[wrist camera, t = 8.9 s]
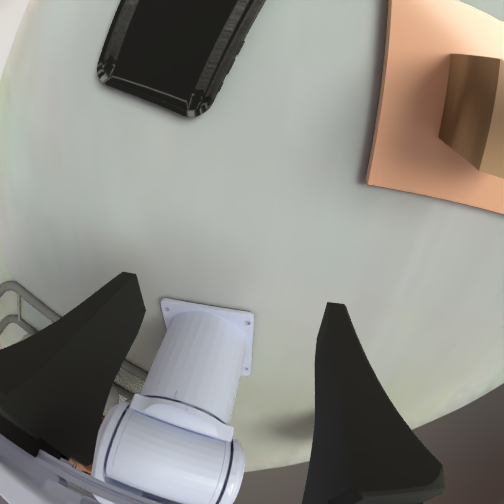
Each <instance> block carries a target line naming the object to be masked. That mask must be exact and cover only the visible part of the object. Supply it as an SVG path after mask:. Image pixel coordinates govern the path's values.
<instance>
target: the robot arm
mask: <svg viewBox="0 0 504 504" xmlns="http://www.w3.org/2000/svg"><path fill="white" fill-rule="evenodd" d="M160 304H161V308H162V313H163V317H164V321H165V325H166V329H167V332H166V334H165V337H164V339H163V341H162V343H161V346H160V348H159V350H158V352H157V355H156V357H155V359H154V362H153V364H152V366H151V368H150V371H149V373H148V375H147V378H146V380H145V382H144V385H143V387H142V390H141V392H140V394H134V397H133V399H132V401H131V404H130V403H128V402H126V401H122V402H120V403H119V404H116V405H114V406H112V407H111V409H110V410H109V411H108V413H107V414H106V416H105V418H104V420H103V422H102V424H101V427H100V423H101V419H102V416H103V412H104V409H105V405H106V402H107V399H108V396H109V393H110V390H111V387H112V384H113V382H114V380H115V378H116V375H117V373H118V371H119V369H120V367H121V365H122V363H123V361H124V359H125V357H126V355H127V353H128V351H129V350H130V348H131V346H132V344H133V342H134V340H135V338H136V336H137V334H138V331H139V329H140V326H141V323H142V320H143V318H144V315H145V312H146V309H145V306H144V302H143V299H142V295H141V291H140V287H139V283H138V280H137V276H136V274H132V273H127V272H122V273H121V274H119V275H118V276H116V277H115V278H114V279H112V280H111V281H110V282H108V283H107V284H106V285H105V286H103V287H102V288H101V289H99V290H98V291H97V292H95V293H94V294H93V295H92V296H90V297H89V298H88V299H86V300H85V301H84V302H82V303H81V304H80V305H78V306H77V307H76V308H74V309H73V310H71V311H70V312H69V313H67V314H66V315H64V316H63V317H62V318H60V319H59V320H57V321H56V322H54V323H53V324H51V325H49V326H48V327H46V328H44V329H43V330H41V331H39V332H37V333H35V334H33V335H32V336H30V337H28V338H26V339H24V340H22V341H20V342H18V343H15V344H13V345H11V346H9V347H6V348H4V349H1V350H0V495H1V496H2V497H3V498H4V499H5V500H6V501H7V502H8V503H9V504H233V502H234V500H235V498H236V496H237V494H238V491H239V489H240V485H241V482H242V478H243V473H244V468H245V452H244V450H243V448H242V446H241V443H240V442H239V441H238V440H236V439H232V437H233V432H234V427H232V426H229V425H230V420H231V416H232V412H233V407H234V403H235V399H236V394H237V390H238V386H239V381H240V377H241V376H249V375H250V373H251V361H252V346H253V330H254V315H253V314H252V313H251V312H246V311H240V310H233V309H227V308H220V307H214V306H208V305H202V304H196V303H190V302H185V301H179V300H174V299H168V298H163V299H162V300H161V302H160ZM247 321H249V322H247ZM99 428H100V429H99ZM61 457H62V458H64V459H66V460H67V461H68V460H69V459H72V460H74V461H76V462H78V463H80V464H82V465H84V466H89V465H91V464H93V465H92V472H91V476H90V475H88V474H86V473H84V472H82V471H80V470H78V469H76V468H74V467H71V466H70V465H68V464H66V463H64V462H62V461H60V458H61ZM66 480H67V481H69V482H71V483H72V484H74V485H76V486H78V487H80V488H82V489H84V490H86V491H88V492H91V493H92V494H93V495H94V496H95V498H96V499H97V500H98V501H95V500H94V499H91V498H89V497H87V496H85V495H83V494H81V493H79V492H77V491H75V490H72V489H70V488H69V487H68V484H67V482H66ZM444 491H445V478H444V471H443V466H442V464H441V463H440V462H439V461H438V460H437V459H436V458H435V457H434V456H433V455H432V454H431V453H430V452H429V450H427V448H426V447H425V446H424V445H423V444H422V442H421V441H420V440H419V439H418V438H417V437H416V435H415V434H414V433H413V432H412V430H411V429H410V428H409V426H408V425H407V424H406V422H405V421H404V419H403V418H402V417H401V415H400V414H399V413H398V411H397V410H396V408H395V407H394V405H393V404H392V402H391V401H390V399H389V397H388V396H387V394H386V392H385V391H384V389H383V387H382V386H381V384H380V382H379V380H378V379H377V377H376V375H375V373H374V371H373V369H372V367H371V365H370V363H369V361H368V359H367V357H366V355H365V352H364V350H363V348H362V346H361V344H360V341H359V339H358V337H357V334H356V332H355V329H354V327H353V324H352V322H351V319H350V316H349V314H348V311H347V308H346V306H345V305H344V304H339V303H330V302H327V305H326V309H325V312H324V316H323V319H322V323H321V326H320V330H319V333H318V336H317V342H316V354H315V426H314V435H313V443H312V450H311V457H310V463H309V470H308V475H307V481H306V486H305V492H304V496H303V501H302V504H423V502H424V501H427V500H430V499H432V498H435V497H437V496H439V495H441V494H442V493H443V492H444Z"/></svg>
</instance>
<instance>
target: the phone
mask: <svg viewBox="0 0 504 504" xmlns="http://www.w3.org/2000/svg"><path fill="white" fill-rule="evenodd" d="M265 1H266V0H121V1H120V4H119V6H118V8H117V11H116V13H115V16H114V18H113V21H112V24H111V26H110V29H109V32H108V34H107V37H106V40H105V43H104V46H103V49H102V52H101V55H100V58H99V61H98V66H97V74H98V77H99V79H100V80H101V81H102V83H104V84H106V85H108V86H111V87H113V88H116V89H119V90H121V91H124V92H127V93H129V94H132V95H134V96H137V97H140V98H142V99H145V100H147V101H150V102H152V103H154V104H157V105H159V106H162V107H164V108H167V109H169V110H171V111H174V112H176V113H178V114H181V115H183V116H187V117H196V116H198V115H201V114H202V113H204V112H205V111H207V110H208V109H209V108H210V107H211V105H212V104H213V102H214V100H215V97H216V95H217V93H218V92H219V91H220V89H221V87H222V85H223V81H224V79H225V76H226V74H228V73H229V71H230V69H231V67H232V65H233V63H234V61H235V56H236V54H237V55H238V54H239V52H240V50H241V48H242V46H243V44H244V42H245V41H244V39H245V37H246V35H247V33H248V32H249V30H250V28H251V26H252V24H253V22H254V21H255V19H256V17H257V15H258V13H259V12H260V10H261V8H262V6H263V5H264V3H265Z"/></svg>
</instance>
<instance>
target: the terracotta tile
mask: <svg viewBox="0 0 504 504" xmlns="http://www.w3.org/2000/svg"><path fill="white" fill-rule="evenodd" d="M451 53H453V54H465V55H475V56H484V57H491V58H498V59H502V60H504V22H502V21H500V20H498V19H496V18H494V17H492V16H490V15H488V14H486V13H484V12H482V11H480V10H478V9H476V8H474V7H472V6H469V5H467V4H465V3H462V2H460V1H458V0H388V16H387V31H386V43H385V54H384V64H383V73H382V81H381V89H380V97H379V104H378V111H377V117H376V124H375V130H374V136H373V142H372V148H371V153H370V158H369V164H368V169H367V174H366V182H367V184H368V185H374V186H380V187H386V188H391V189H396V190H402V191H407V192H412V193H417V194H422V195H427V196H431V197H436V198H441V199H445V200H450V201H454V202H458V203H462V204H467V205H471V206H475V207H479V208H483V209H487V210H490V211H494V212H498V213H501V214H504V179H503V178H500V177H496V176H493V175H490V174H487V173H484V172H480V171H478V170H477V169H476V168H475V167H474V166H473V165H471V164H470V163H469V162H468V161H467V160H465V159H464V158H463V157H462V156H461V155H459V154H458V153H457V152H456V151H454V150H453V149H452V148H451V147H449V146H448V145H447V144H446V143H444V142H443V141H442V140H440V139H439V138H438V135H439V131H440V126H441V120H442V115H443V109H444V103H445V97H446V91H447V84H448V76H449V68H450V59H451Z"/></svg>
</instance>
